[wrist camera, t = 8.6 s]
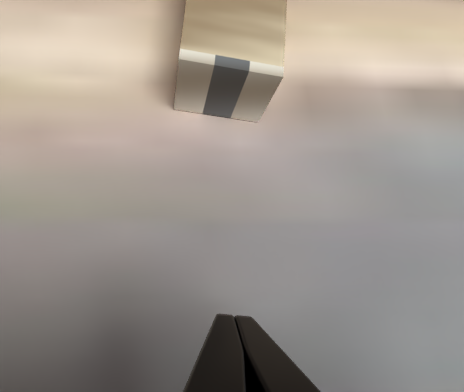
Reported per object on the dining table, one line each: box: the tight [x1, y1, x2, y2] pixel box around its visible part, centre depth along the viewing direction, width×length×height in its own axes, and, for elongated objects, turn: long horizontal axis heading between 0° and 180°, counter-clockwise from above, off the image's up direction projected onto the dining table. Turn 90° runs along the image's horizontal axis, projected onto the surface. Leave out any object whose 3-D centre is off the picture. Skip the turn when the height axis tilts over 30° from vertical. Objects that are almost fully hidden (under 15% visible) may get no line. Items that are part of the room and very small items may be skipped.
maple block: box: [174, 0, 287, 122], centre depth 21 cm, size 4×4×9 cm
